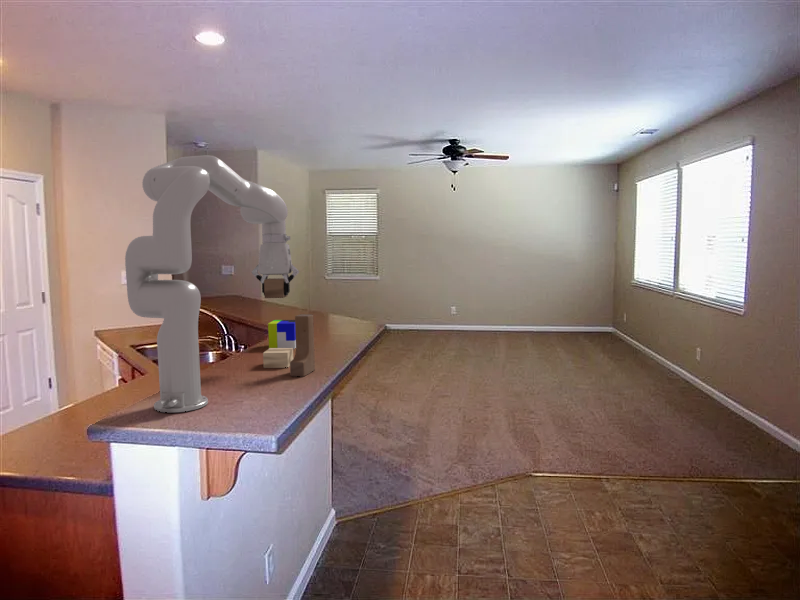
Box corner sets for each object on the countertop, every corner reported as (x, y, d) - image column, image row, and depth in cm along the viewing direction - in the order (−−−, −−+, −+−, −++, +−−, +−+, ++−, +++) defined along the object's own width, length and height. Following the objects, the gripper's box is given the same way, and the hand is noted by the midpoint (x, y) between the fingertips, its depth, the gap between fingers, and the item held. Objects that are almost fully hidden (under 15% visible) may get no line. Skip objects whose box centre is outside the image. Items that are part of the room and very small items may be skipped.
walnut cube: (283, 298, 179) (282, 279, 178) (264, 298, 179) (264, 279, 178) (287, 296, 184) (286, 278, 184) (269, 296, 185) (269, 278, 184)
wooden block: (303, 377, 167) (301, 318, 165) (290, 376, 168) (288, 317, 166) (315, 370, 176) (313, 314, 174) (302, 369, 177) (300, 314, 175)
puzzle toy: (294, 349, 212) (294, 323, 211) (268, 349, 212) (268, 323, 211) (299, 344, 222) (299, 319, 221) (275, 344, 222) (274, 319, 221)
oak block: (287, 367, 180) (287, 352, 179) (263, 367, 180) (263, 352, 180) (293, 362, 188) (293, 348, 187) (270, 362, 188) (269, 348, 188)
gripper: (302, 239, 183) (304, 293, 185) (251, 240, 184) (253, 294, 185) (298, 239, 176) (299, 296, 177) (244, 240, 176) (246, 296, 178)
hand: (276, 294), depth 181 cm, fingers closed on walnut cube, 6 cm apart
